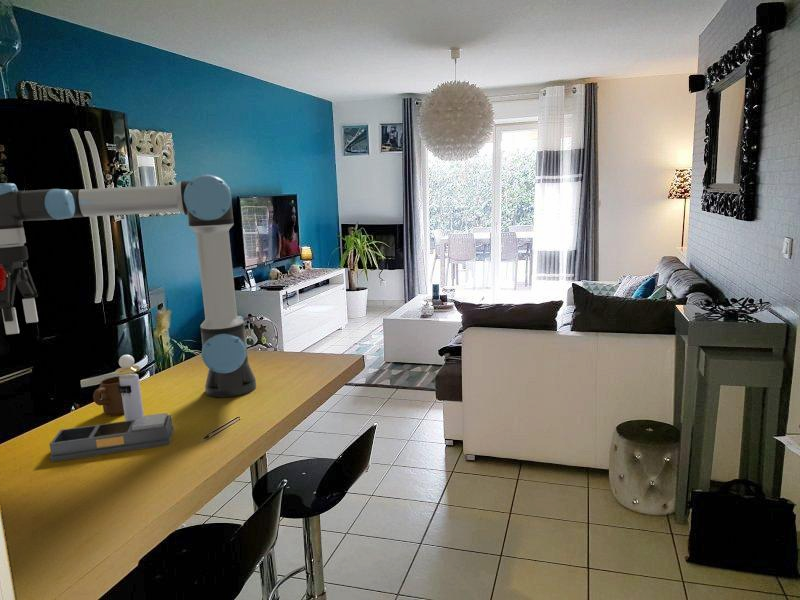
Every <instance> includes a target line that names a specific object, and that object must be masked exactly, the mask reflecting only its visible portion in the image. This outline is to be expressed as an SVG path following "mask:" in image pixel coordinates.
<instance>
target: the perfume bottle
mask: <svg viewBox="0 0 800 600" xmlns="http://www.w3.org/2000/svg"><path fill="white" fill-rule="evenodd" d="M118 364H119V366H120V367H119V368H117V369H115V371H114V372H115V374H116V375H118V376H121V377H119V381H120V386H118V385H117V386H118V392H119V393H121V395H122V402H123V409H124V414H123V415H124V421H130V420H136V418H137V417H139V416H145V415H144V407H143V400H142V392H141V384H140V379H139V374H137V372H139V371H140V370H141V367H140V366H139V365H134V364H135V358H134V357H133V356H132V355H130V354H123V355H121V356H120V358H119V359H118ZM117 384H119V383H117ZM120 391H121V392H120Z"/></svg>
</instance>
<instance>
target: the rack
mask: <svg viewBox="0 0 800 600" xmlns="http://www.w3.org/2000/svg"><path fill="white" fill-rule="evenodd" d="M174 430H175V428H174V424H173V420H172V414H169V415H168V412H164V413H163V412H162V413H155V414H148V415H144V416H139V417H137V418H136V420H130V421H125V420H124V421H116V422H110V423H102V424H94V425H87V426H79V427H71V428H65V429H59V431H58V432H57V434H56V435H55V437H54V438H52V440H51V441H50V443H49V449H50V453H51V454H50V457H49V460H50V463H53V462H54V463H55V462H60V461H68V460H74V459H82V458H88V457H89V458H90V457H95V456H96V457H97V456H102V455H109V454H114V453H115V454H116V453H122V452H130V451H136V450H137V451H138V450H143V449H144V450H145V449H151V448H157V447H165V446H170V444H171V440H172V437H173V435H174V434H173V433H174Z"/></svg>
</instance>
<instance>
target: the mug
mask: <svg viewBox="0 0 800 600" xmlns="http://www.w3.org/2000/svg"><path fill="white" fill-rule="evenodd" d="M121 376H122V375H118V376H111V377H108V378H105V379H103V380H101V381H100V382H99V387H98V388H96V389H95V390H94V392H93V394H92V398H93V402H94V403H95V404H96V405H98V406H102V410H103V413H104V415H106V416H108V417H115V416H120V415H121V416H122V415H124V409H123V402H122V395H121V393H119V392H118V386H120V381H119V377H121ZM117 383H119V384H117ZM117 385H118V386H117ZM120 392H121V391H120Z"/></svg>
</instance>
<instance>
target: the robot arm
mask: <svg viewBox="0 0 800 600" xmlns="http://www.w3.org/2000/svg"><path fill="white" fill-rule="evenodd" d="M232 196H233V194H232V191H231V189H230V186H229V185H228V184H227V182H226V181H225V180H224V179H222V178H221V177H219V176H218V175H214V174H209V173H208V174H207V173H206V174H199V175H197V176H195V177H193V178H191V179H190V180H180V181H179V182H178V183H177V184H173V185H172V184H171V185H169V184H167V185H150V186H148V185H147V186H145V185H144V186H127V187H126V186H125V187H108V188H107V187H106V188H104V187H103V188H101V187H100V188H83V189H64V188H63V189H61V188H50V189H37V190H35V189H34V190H33V189H32V190H19V189H18V187H17V185H16V184H15V183H14V182H13V183H12V182H4V183H2V182H1V183H0V264H1V266H2V265H3V266H4V268H5V270H6V272H7V274H8V277H7V279H6V287H5V289H4V291H2V292H0V310H1V313H2V319H3V324H4V330H5V334H6V335H7V336H8V335H16V334H20V327H19V323H18V317H17V316H18V315H17V310H16V307H14V301H15V293H16V288H18V291H19V292H20V294H21V296H22V297H23V298H22V300H21V301H22V307H23V313H24V317H25V319H24V320H25V322H26V324H29V323H30V324H31V323H38V322H39V316H38V311H37V305H36V299H35V298H38V297H39V293H38V291H37V289H36V288H37V287H36V285H35V283H34V281H33V277H32V275H31V272H30V270H29V266H28V265H29V263H28V262H27V260H28V259H29V253H28V247H27V246H26V245H25V244H26V243H27V241H26V240H27V238H26V235H25V229H24V224H23V222H29V221H49V220H50V221H51V220H57V221H59V220H65V219H67V220H68V219H72V218H83V217H84V218H86V217H99V216H101V217H105V216H123V215H125V216H126V215H140V214H141V215H142V214H143V215H144V214H160V213H161V214H162V213H164V214H165V213H181V214H182V215H183V216H187V221H188V228H190V229H191V230H192V231H193V232H194V233H195V237H196V238H195V239H196V247H197V255H198V266H199V274H200V283H201V291H202V301H203V309H204V310H203V311H204V318H205V319H204V320H203V321H202V323H201V324H200V335H201V344H202V345H201V346H202V348H201V353H200V355H201V358H202V361H203V364H204V365H205V366H206V367H207V368H208V371H207V376H206V381H205V385H204V387H205V388H204V389H205V394H206V395H207V396H209V397H212V398H232V397H238V396H241V395H242V396H243V395H245V394H248V393H250V392H252V391H253V390H255V389H256V388H257V379H256V377H255V375H254V372H253V371H252V368H251V366H250V364H249V358H248V345H247V336H246V327H245V326H246V323H245V321H244V317H243V316H242V315H238V309H237V302H236V301H237V300H236V291H235V279H234V273H233V272H234V269H233V261H232V259H233V258H232V251H231V250H232V249H231V242H230V232H229V231H230V229H231V228H232V227H233V226H234V224H235V223H234V215H233V203H232V202H233V200H232V199H233V197H232Z"/></svg>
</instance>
